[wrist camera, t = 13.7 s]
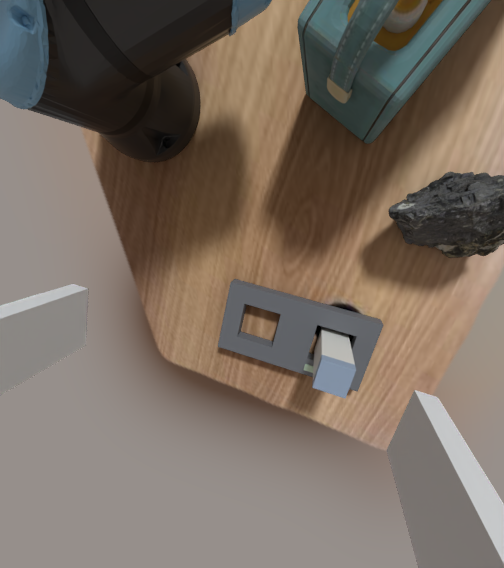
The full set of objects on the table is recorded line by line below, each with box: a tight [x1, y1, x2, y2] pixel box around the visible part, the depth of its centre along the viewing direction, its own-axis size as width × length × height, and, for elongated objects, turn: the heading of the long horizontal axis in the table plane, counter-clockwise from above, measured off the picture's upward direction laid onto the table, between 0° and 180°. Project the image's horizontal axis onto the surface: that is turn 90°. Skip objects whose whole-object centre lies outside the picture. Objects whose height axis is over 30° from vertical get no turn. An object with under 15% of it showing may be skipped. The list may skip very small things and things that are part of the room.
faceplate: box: [218, 279, 383, 391], centre depth 43 cm, size 22×11×2 cm, turn 77°
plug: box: [312, 327, 356, 398], centre depth 39 cm, size 4×4×10 cm
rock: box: [389, 172, 504, 258], centre depth 33 cm, size 12×10×10 cm
